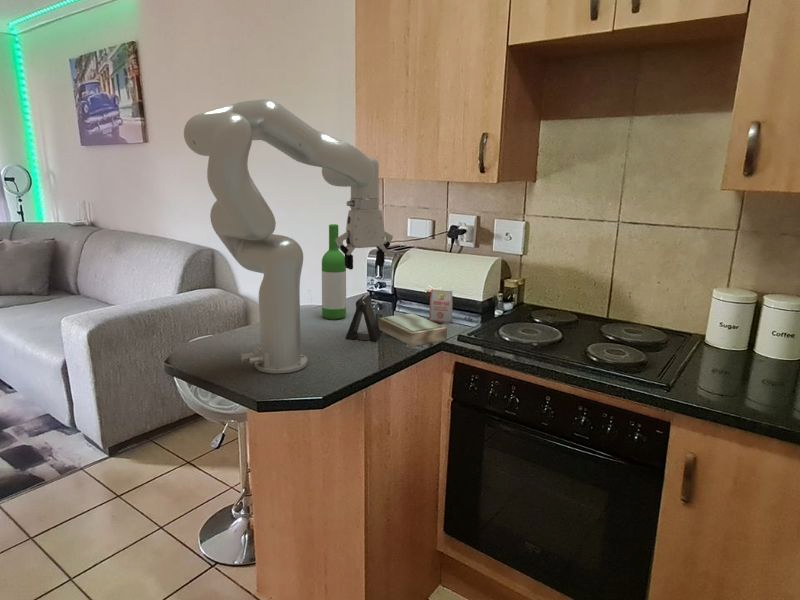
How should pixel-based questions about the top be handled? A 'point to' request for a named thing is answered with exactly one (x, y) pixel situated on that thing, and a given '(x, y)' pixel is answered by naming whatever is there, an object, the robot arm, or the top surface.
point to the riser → (412, 329)
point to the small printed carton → (440, 306)
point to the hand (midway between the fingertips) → (364, 267)
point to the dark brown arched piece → (369, 319)
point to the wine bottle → (333, 279)
